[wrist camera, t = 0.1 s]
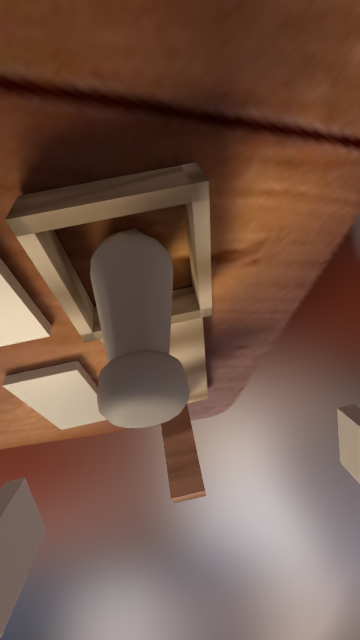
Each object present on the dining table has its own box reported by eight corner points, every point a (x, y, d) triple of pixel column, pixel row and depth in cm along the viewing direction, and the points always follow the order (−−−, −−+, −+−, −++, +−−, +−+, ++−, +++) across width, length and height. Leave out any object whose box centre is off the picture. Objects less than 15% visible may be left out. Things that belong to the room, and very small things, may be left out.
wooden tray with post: (18, 195, 16) (-94, 401, 7) (196, 161, 16) (298, 317, 7) (138, 406, 39) (146, 512, 31) (209, 390, 40) (237, 491, 31)
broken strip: (-187, 223, 15) (-203, 234, 14) (-46, 196, 15) (-55, 206, 15) (62, 421, 39) (61, 429, 38) (115, 410, 39) (115, 417, 39)
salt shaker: (182, 254, 21) (231, 408, 13) (130, 292, 23) (143, 447, 15) (131, 199, 17) (153, 366, 9) (74, 250, 19) (46, 428, 11)
